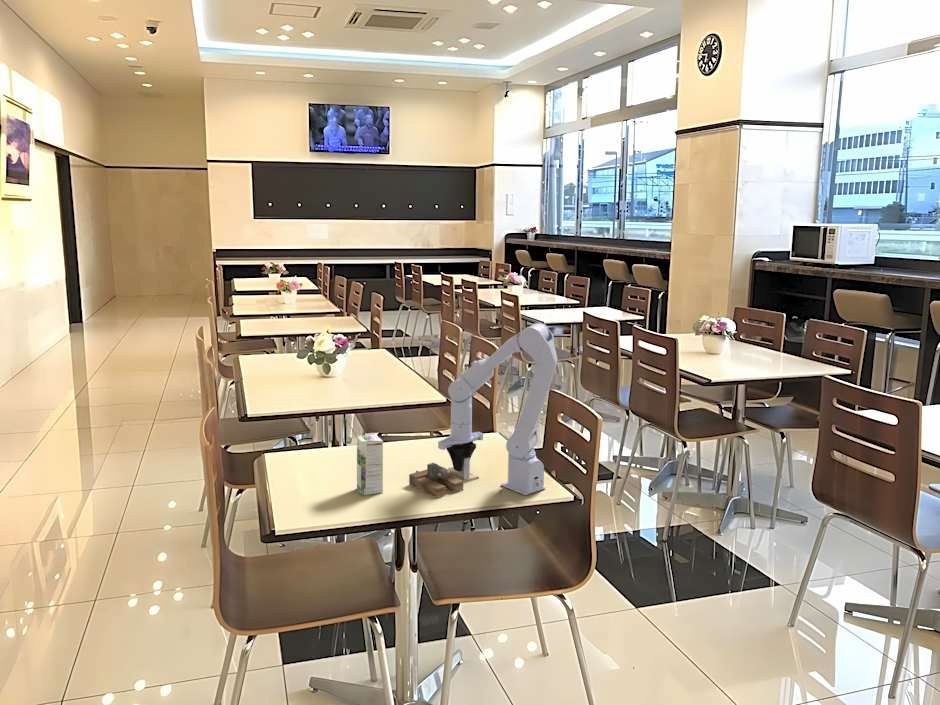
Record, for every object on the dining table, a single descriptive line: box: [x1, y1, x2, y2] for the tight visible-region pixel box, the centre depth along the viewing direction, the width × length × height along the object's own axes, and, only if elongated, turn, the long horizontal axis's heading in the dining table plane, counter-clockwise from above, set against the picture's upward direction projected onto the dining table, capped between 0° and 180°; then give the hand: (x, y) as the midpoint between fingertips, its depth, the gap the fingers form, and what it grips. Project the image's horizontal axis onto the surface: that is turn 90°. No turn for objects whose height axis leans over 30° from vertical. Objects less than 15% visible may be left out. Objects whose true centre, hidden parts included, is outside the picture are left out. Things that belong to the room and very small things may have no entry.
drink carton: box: [356, 434, 384, 496], centre depth 201 cm, size 6×6×14 cm
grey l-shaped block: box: [447, 456, 471, 480], centre depth 212 cm, size 7×2×6 cm, turn 41°
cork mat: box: [448, 472, 480, 484], centre depth 214 cm, size 10×8×1 cm
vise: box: [408, 462, 464, 499], centre depth 206 cm, size 14×9×6 cm, turn 41°
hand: (460, 469), depth 212 cm, fingers closed on grey l-shaped block, 2 cm apart
